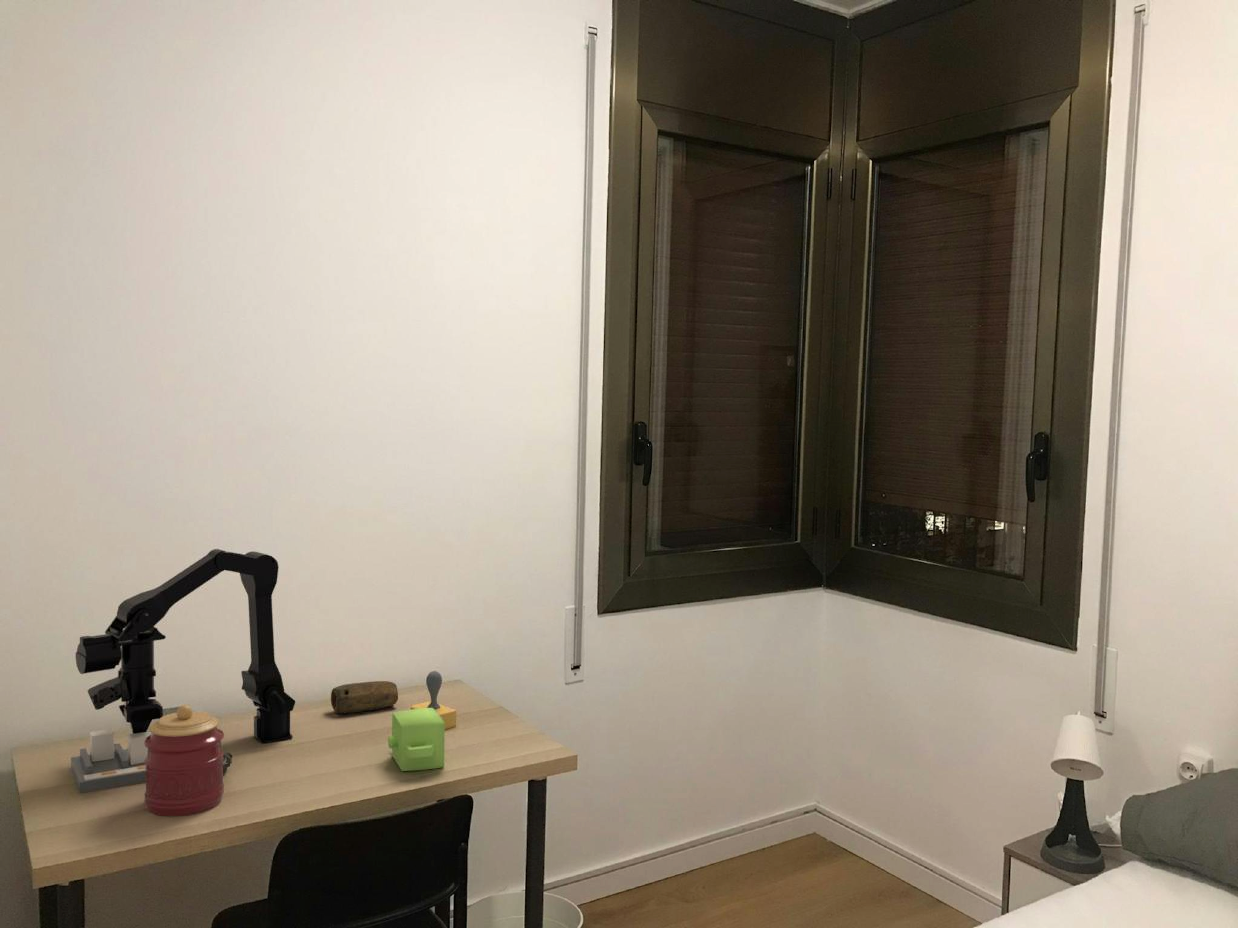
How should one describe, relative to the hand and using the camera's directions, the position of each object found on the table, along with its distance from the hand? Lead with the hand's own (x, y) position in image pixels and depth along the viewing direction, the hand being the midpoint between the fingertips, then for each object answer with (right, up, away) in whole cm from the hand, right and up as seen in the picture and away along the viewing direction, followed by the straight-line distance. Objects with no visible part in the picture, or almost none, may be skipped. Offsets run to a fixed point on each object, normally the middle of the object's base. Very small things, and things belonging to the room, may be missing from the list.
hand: (138, 743), depth 197 cm
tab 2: (+2, -3, -2) cm, 4 cm away
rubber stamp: (+52, -4, +31) cm, 60 cm away
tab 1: (-6, -2, -1) cm, 7 cm away
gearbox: (+52, -6, +7) cm, 53 cm away
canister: (+16, -6, -17) cm, 24 cm away
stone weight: (+34, -3, +40) cm, 52 cm away
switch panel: (-2, -5, -3) cm, 6 cm away
